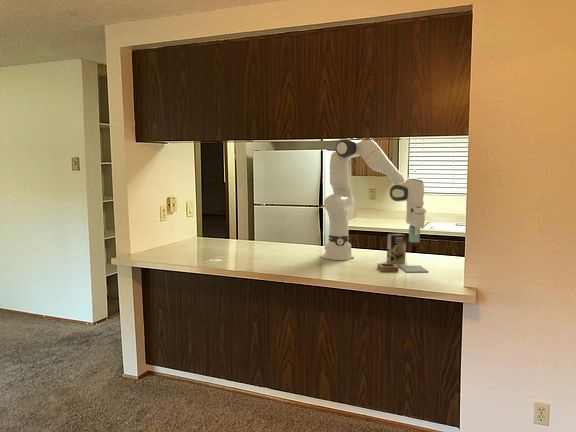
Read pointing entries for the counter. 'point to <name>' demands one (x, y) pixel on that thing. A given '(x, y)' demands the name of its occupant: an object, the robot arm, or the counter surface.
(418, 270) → the slate mat
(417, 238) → the teal block
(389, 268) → the walnut collar
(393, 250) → the coffee box
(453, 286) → the counter surface
